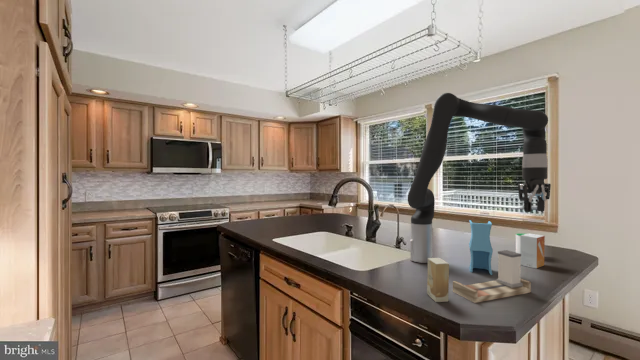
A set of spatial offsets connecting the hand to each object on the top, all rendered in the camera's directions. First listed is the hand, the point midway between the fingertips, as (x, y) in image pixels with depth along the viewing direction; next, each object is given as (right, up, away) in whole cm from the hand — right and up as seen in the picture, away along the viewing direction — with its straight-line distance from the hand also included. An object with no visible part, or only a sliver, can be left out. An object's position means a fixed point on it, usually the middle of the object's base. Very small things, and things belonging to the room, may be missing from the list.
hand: (534, 211), depth 108 cm
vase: (-14, -26, +11) cm, 31 cm away
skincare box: (-42, -27, -15) cm, 52 cm away
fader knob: (-15, -24, -8) cm, 29 cm away
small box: (+12, -25, +17) cm, 33 cm away
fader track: (-22, -26, -10) cm, 36 cm away
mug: (+20, -25, +30) cm, 44 cm away
